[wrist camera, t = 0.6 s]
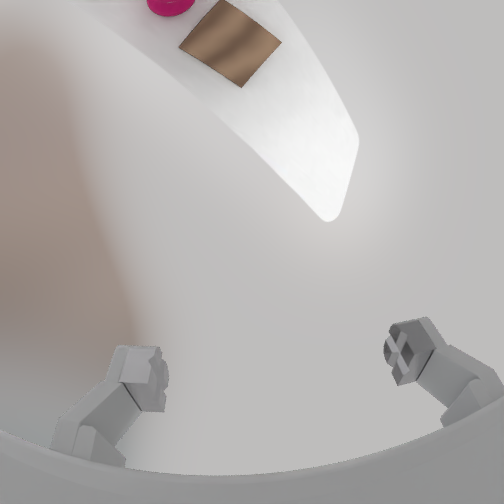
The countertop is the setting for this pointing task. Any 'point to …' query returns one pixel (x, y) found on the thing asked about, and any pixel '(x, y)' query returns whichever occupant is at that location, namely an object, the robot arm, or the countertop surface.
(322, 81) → the countertop surface
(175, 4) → the pepper mill
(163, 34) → the countertop surface
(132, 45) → the countertop surface
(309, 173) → the countertop surface
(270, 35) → the walnut board
